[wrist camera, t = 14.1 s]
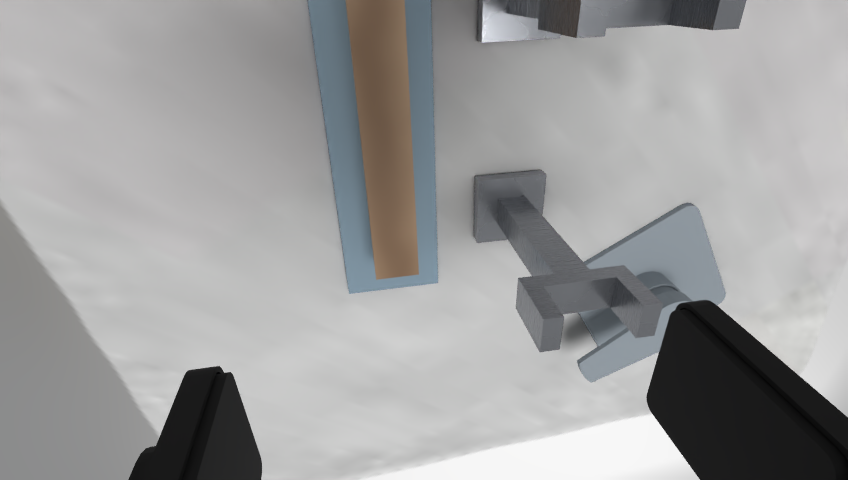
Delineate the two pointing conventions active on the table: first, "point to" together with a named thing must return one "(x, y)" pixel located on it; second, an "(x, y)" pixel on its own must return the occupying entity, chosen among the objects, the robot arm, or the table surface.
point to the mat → (346, 141)
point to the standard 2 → (598, 17)
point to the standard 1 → (554, 263)
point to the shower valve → (652, 285)
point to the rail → (385, 131)
